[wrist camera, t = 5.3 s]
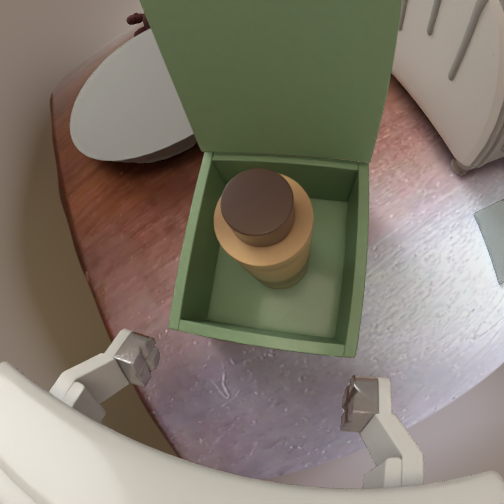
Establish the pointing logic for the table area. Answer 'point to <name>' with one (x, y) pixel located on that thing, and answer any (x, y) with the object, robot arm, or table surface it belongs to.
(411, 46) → the toaster
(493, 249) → the tile
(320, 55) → the box lid
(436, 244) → the table surface
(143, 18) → the gnome figurine
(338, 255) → the green box
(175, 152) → the flat disc
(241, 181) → the pepper mill
